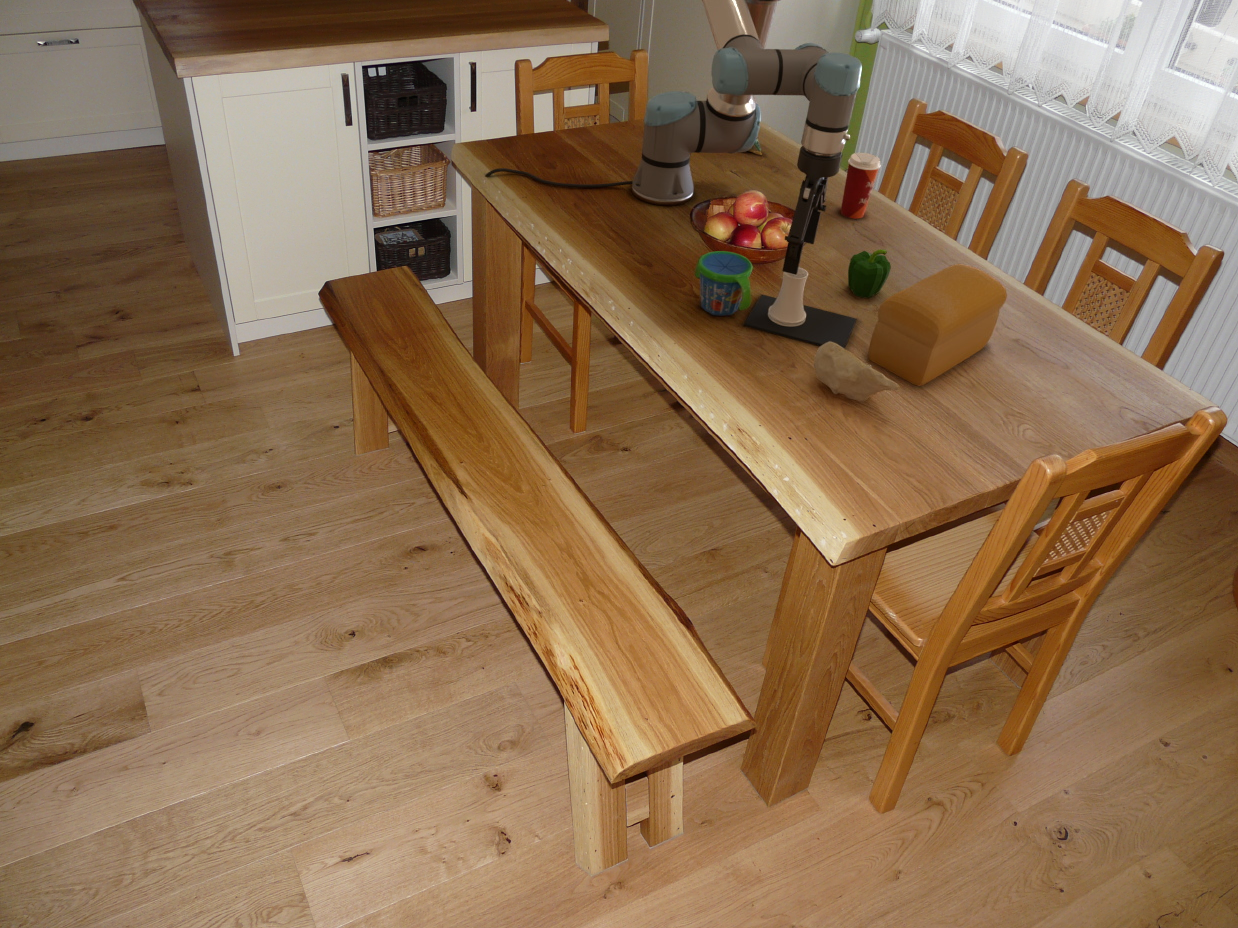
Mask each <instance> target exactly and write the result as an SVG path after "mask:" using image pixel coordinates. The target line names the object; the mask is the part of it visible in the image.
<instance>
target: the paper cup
mask: <svg viewBox="0 0 1238 928" xmlns="http://www.w3.org/2000/svg"><path fill="white" fill-rule="evenodd" d="M847 162H848V167H847V172H846V178H845V184H844V189H843V195H842V200H841V201H842V202H841V206H840V207H841V208H840V214H841V216H844V217H845V218H848V219H855V220H857V219H862V218H863V217H864V215H865V213H866V210H867V207H868V203H869V200H870V197H871V194H872V190H873V189H874V188H873V187H874V185H875V181H876V178H877V176H878V175H877V174H878V172H879V169H880V168H881V166H882V165H881V159H880V157H878V156H877V155H874V154H872V153H868V152H854V153H852V154H850V157H849V159H848V160H847Z"/></svg>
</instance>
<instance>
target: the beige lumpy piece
mask: <svg viewBox="0 0 1238 928" xmlns="http://www.w3.org/2000/svg"><path fill="white" fill-rule="evenodd" d="M813 368H814V372H815V374H816V376H817V379H818V380H819V381H820V382H821V383H823V384H824V385H826V386H827V387H828V388H829V389H830V390H831V391H832V393H833V394H834V395H838V394H841V395H844V396H845V397H846V398H847V399H851V400H854V401H859V402H860V403H864V402H866V401H867V400H868V399H869V398H870V397H871V396H873V395H877V394H878V393H881V392H884V391H890V392H891V391H895V390H896V391H897V390H898V389H900V385H899V384H898V383H896V382H895V381H893V380H892V379H890V378H888V377H887V376H885V374H884V373H882V372H881V371H878V370H876V369H875V368H873V366H872V365H871V364H869V363H868V362H864V361H862V360H860V359H859V358H858V357H857V356H855V354H854V353H852V352H851V351H849V350H848V349H846V348H842V347H841V346H839V345H838V344H836V343H834V342H830V341H829V342H827V343H825V344H823V345H822V346H818V348H817V351H816V352H815V355H814V362H813Z"/></svg>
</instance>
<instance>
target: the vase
mask: <svg viewBox="0 0 1238 928" xmlns="http://www.w3.org/2000/svg"><path fill="white" fill-rule="evenodd" d="M782 273H783V274H782V281H781V286H780V290H779V293H778V295H777V297H776V298H777V299H776V301H775V302H774V304H773V305H772V306H770V308H769V312H768V317H769V318H770V319H771V320H772V321H773V322H775V323H777V324H779V325H783V326H789V327H793V326H799V325H801V324H803V323H804V322H805V318H806V313H805V311H804V307H803V305H804V290H805V286H806V282H807V279H808V276H809V272H808V271H807V270H806V269H805V268H802V267H800V266H799V268H798V272H797V275H795V274H791V273H787V272H783V271H782Z"/></svg>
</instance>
